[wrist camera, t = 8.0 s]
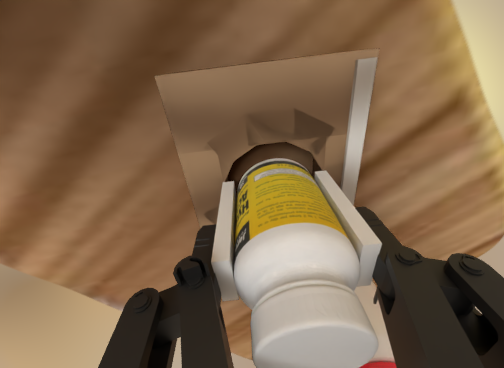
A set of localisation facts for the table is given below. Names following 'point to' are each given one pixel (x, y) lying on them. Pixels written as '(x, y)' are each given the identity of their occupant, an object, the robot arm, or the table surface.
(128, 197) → the table surface
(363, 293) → the pill bottle
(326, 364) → the supplement bottle
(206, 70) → the jig
